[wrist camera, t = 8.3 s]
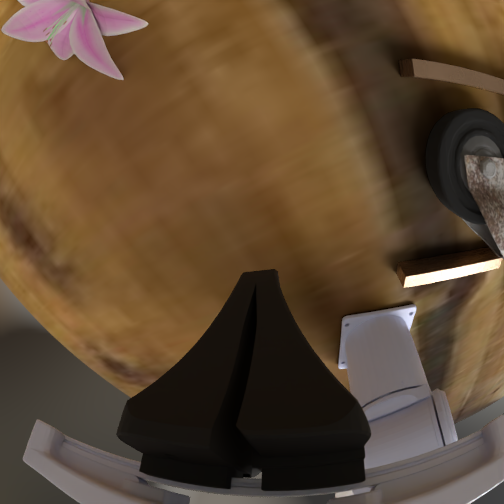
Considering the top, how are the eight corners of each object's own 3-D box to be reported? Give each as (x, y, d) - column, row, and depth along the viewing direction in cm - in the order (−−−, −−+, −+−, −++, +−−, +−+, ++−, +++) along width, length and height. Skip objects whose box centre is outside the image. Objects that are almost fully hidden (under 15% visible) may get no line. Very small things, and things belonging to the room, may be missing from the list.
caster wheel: (410, 108, 16) (502, 120, 13) (415, 244, 20) (500, 240, 17) (444, 98, 10) (547, 121, 7) (443, 282, 14) (537, 271, 11)
